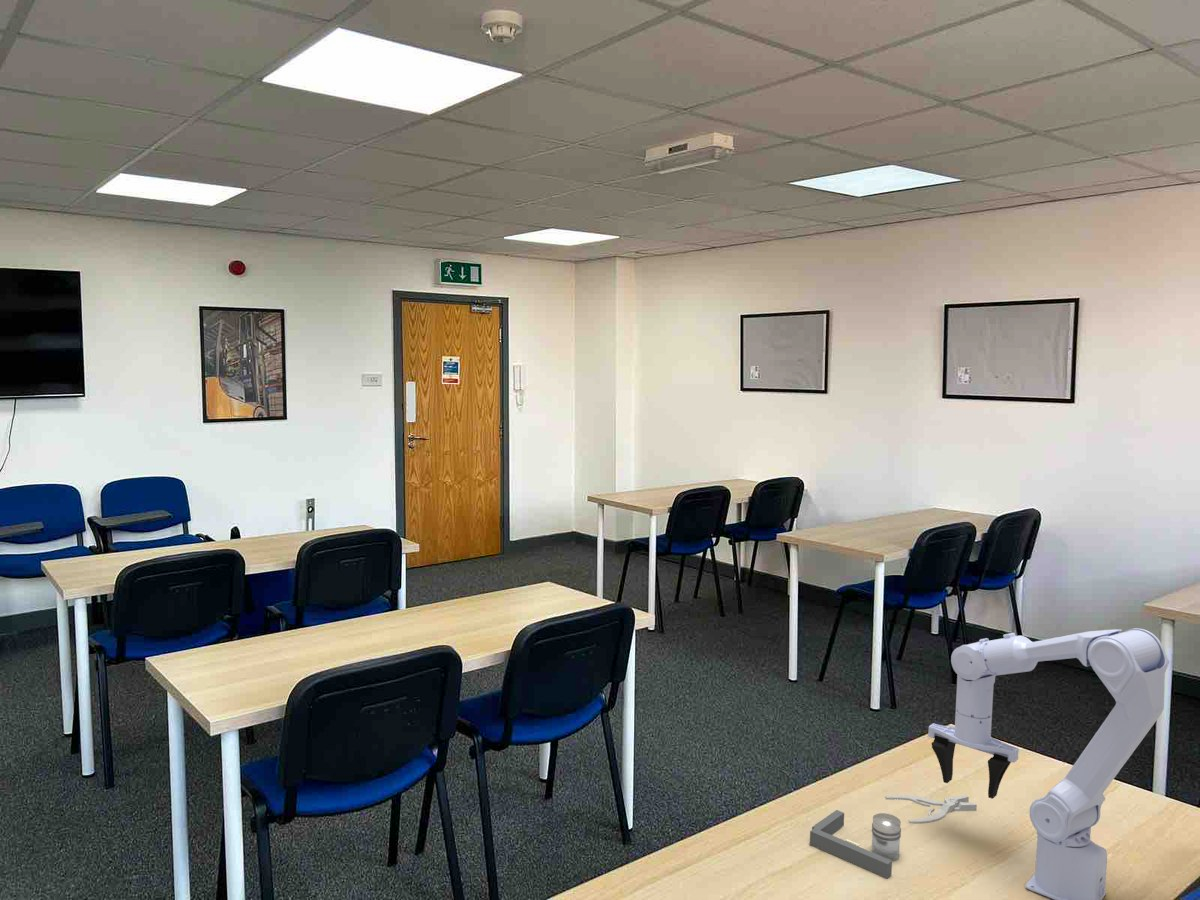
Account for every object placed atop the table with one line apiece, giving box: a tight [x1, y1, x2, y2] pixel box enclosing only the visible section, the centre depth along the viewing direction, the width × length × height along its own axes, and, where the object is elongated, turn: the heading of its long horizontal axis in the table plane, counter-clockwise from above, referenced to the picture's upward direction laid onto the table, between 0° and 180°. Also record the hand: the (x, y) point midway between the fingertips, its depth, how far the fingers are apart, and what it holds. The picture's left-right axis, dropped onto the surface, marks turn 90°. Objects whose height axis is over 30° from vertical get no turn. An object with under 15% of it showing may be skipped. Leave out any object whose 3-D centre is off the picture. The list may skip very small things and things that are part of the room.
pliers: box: [884, 794, 978, 825], centre depth 159 cm, size 10×2×15 cm
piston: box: [871, 812, 902, 862], centre depth 143 cm, size 5×5×6 cm
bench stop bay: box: [809, 809, 893, 879], centre depth 144 cm, size 14×10×2 cm
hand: (969, 788), depth 147 cm, fingers open, 7 cm apart
